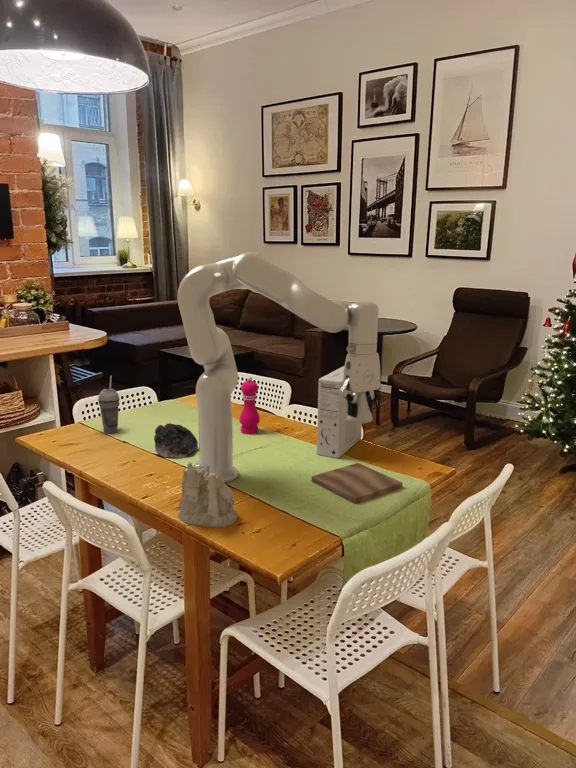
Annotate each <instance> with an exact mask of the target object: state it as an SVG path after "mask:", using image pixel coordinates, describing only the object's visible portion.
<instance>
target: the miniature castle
mask: <svg viewBox="0 0 576 768" xmlns="http://www.w3.org/2000/svg"><path fill="white" fill-rule="evenodd" d="M187 468H188V469H187V471H186V470H184V469H183V470H182V472H183V473H182V480H181V492H182V496H181V497H180V499H179V500H180V501H179V503H178V507H177V508H178V511H177V518H178V519H179V520H180V521H182V522H183V523H185V524H188V525H194V526H202V527H210V528H226V527H229V526H231V525H233V524H234V523H235V522H236V521H237V519H238V511H237V510H236V509H235V508H234V504H235V503H234V502H235V500H234V499H233V498H234V497H235V493H234V491H233V490H232V489H230V488H229V486H228V485H227V484H226V483H224V481H223V480H222V478H221V477H220V475H217V477H216V474H214V473H210V474H209V473H208V472H206V474H205V475H203V473H202V471H200V469H195V467H194V465H193V463H192V462H191V461H189V462H187Z"/></svg>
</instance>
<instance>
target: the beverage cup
mask: <svg viewBox="0 0 576 768" xmlns="http://www.w3.org/2000/svg"><path fill="white" fill-rule="evenodd" d="M109 376H110V377H109V387H106V388H103V389H102V390H100V392H99V394H98V398H97V401H98V405H99V408H100V414H101V421H102V427H103V431H104V433H105V434H114V433H116V432H118V425H119V405H120V396H119V393H118V391H117V390H116V389H114V388H112V380H113V379H112V377H113V376H112V375H109Z"/></svg>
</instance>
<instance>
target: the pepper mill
mask: <svg viewBox="0 0 576 768" xmlns="http://www.w3.org/2000/svg"><path fill="white" fill-rule="evenodd" d="M240 390H241V393H242V397H241V398H242V400H243V408H242V410H241V413H240V415H239V423H240V424H241V426H240V432H241V433H242V434H245V435H246V434H247V435H253V434H257V433H259V426H258V424H259V423H260V421H261V418H260V414H259V412H258V409H257V408H256V407H257V406H256V400H257V399H258V398H257V397H258V396H257V393H258V390H259V385H258V384H257V382H255V381H254V380H253V377H251V376H248V377H246V380H245V381H243V382H242V383H241V386H240Z"/></svg>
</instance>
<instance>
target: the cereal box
mask: <svg viewBox="0 0 576 768" xmlns="http://www.w3.org/2000/svg"><path fill="white" fill-rule="evenodd" d="M344 367H345V365H343V366H341V367H339V368H337V369H336V370H335V369H334V370H333V371H331V372H330V373H328V374H326V375H324V376H322V377H320V378H319V379H318V394H317V397H318V398H317V427H316V429H317V430H316V431H317V433H316V436H317V437H316V455H318V456H323V457H329V458H333V459H339V458H341V456H343V455H344V454H345V453H347V451H349V450H350V449H351V448H352V447H353V446H355V444H356V443H358V442H359V441H360V440H361V439H362V423H353V422H350V421H348V420H346V418H347V415H348V401H346V399H345V397H344V396H343V395H341V394H340V393H339V391H340V389H341V387H342V386H343V375H344ZM347 392H348V390H347ZM351 396H352V397H353V393H352V395H351Z"/></svg>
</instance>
